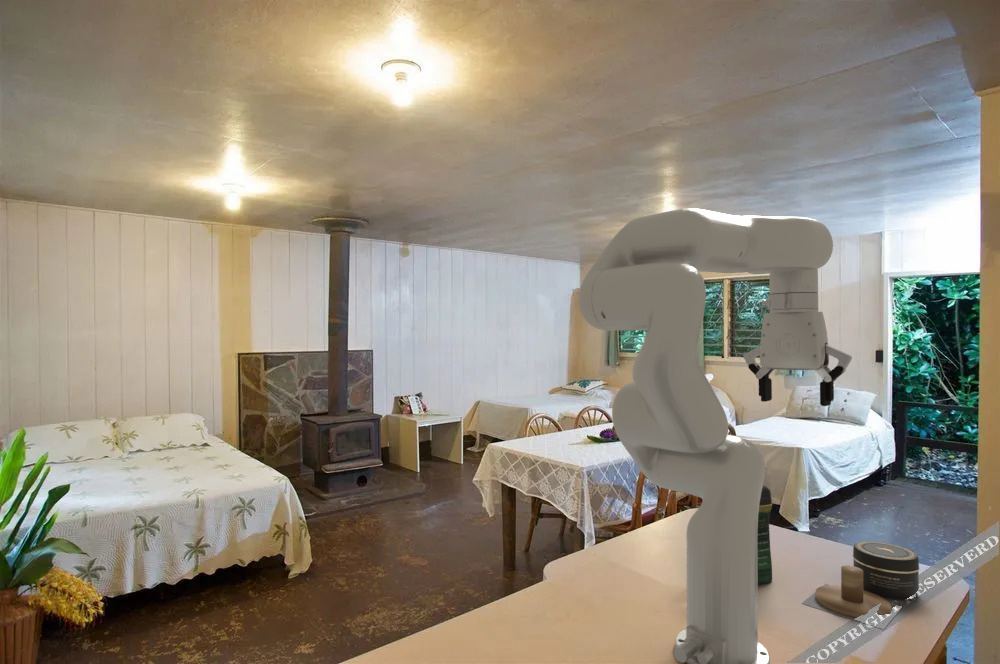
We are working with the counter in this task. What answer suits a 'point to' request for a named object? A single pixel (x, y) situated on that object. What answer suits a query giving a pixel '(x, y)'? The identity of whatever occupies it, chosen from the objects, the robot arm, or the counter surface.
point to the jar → (887, 569)
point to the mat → (813, 603)
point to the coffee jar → (764, 539)
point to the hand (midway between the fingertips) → (794, 403)
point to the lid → (850, 595)
